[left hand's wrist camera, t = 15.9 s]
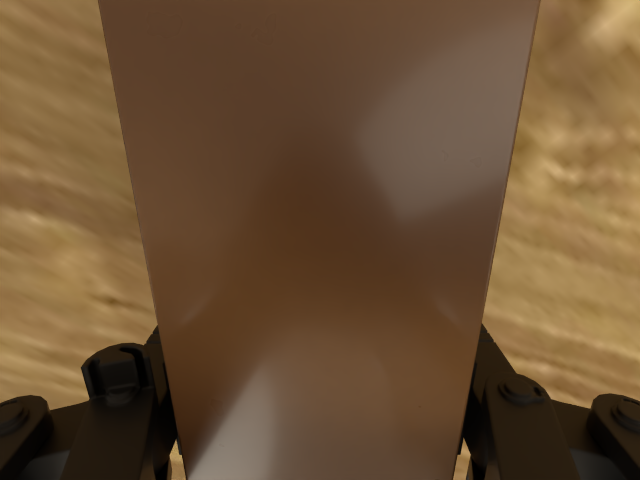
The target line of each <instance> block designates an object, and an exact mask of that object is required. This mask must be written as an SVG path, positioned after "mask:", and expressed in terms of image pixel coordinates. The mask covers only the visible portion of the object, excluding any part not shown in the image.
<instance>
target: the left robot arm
mask: <svg viewBox="0 0 640 480" xmlns="http://www.w3.org/2000/svg"><path fill="white" fill-rule="evenodd" d="M81 370H82V373H83V377H84V381H85V384H86V388H87V391H88V395H89V398H90V399H89V401H86V402H83V403H80V404H76V405H71V406H67V407H63V408H58V409H54V410H50V409H49V406H48V404H47V401H46V400H44V399H43V398H42V397H40V396H33V395H28V396H21V397H16V398H13V399H10V400H7V401H4V402H2V403H0V480H171V476H172V467H171V461H170V456H169V455H170V453H171V450H172V448H173V445H174V443H175V440H176V439H177V445H178V450H179V455H182V453H181V448H180V442H179V437H178V431H177V426H176V421H175V415H174V410H173V404H172V399H171V393H170V388H169V383H168V377H167V372H166V366H165V361H164V356H163V350H162V345H161V339H160V334H159V328H158V325H157V327H156V328H155V330H154V331H153V334H151V335H150V337H149V338H148V340H147V343H146V344H144V346H143V345H140V344H136V343H121V344H117V345H113V346H109V347H107V348H105V349H103V350H100V351H98V352H96V353H95V354H94V355H92V356H91V357H90V358H88V359H87V360H86V361H85V363H84V364H83V365H82V367H81ZM463 438H464V439H465V442H466V444H467V446H468V449H469V451H470V454H471V456H470V461H469V466H468V471H467V476H466V480H640V401H638V400H635V399H632V398H629V397H626V396H623V395H617V394H610V393H609V394H602V395H599V396H597V397H596V398H595V399H594V400H593V403H592V406H591V408H590V409H589V408H584V407H580V406H576V405H571V404H567V403H562V402H559V401H556V400H552V399H551V398H550V397H549V395H548V394H547V392H546V390H545V389H544V388H543V387H541V386H540V385H539V384H538V383H537V382H535V381H533V380H531V379H530V378H528V377H526V376H524V375H520V374H516V372H515V371H514V369H513V368H512V366H511V365H510V363H509V362H508V360H507V359H506V358H505V356H504V355H503V353H502V352H501V350H500V349H499V347H498V346H497V344H496V343H495V342H494V341H493V339H492V337H491V336H490V334H489V333H487V330H486V328H485V327H484V325H483V324H482V323H481V329H480V334H479V340H478V345H477V351H476V356H475V362H474V367H473V372H472V378H471V383H470V389H469V394H468V400H467V405H466V411H465V416H464V422H463V427H462V433H461V438H460V443H459V449H458V454H457V455H460V454H461V449H462V443H463Z"/></svg>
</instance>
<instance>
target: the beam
mask: <svg viewBox="0 0 640 480" xmlns="http://www.w3.org/2000/svg"><path fill="white" fill-rule="evenodd" d="M540 1H541V0H98V3H99V9H100V14H101V19H102V25H103V30H104V36H105V41H106V47H107V52H108V57H109V63H110V68H111V74H112V79H113V84H114V90H115V95H116V101H117V106H118V112H119V117H120V122H121V128H122V133H123V139H124V144H125V150H126V155H127V160H128V166H129V171H130V177H131V182H132V187H133V193H134V198H135V204H136V209H137V215H138V220H139V225H140V231H141V236H142V242H143V247H144V253H145V258H146V263H147V269H148V274H149V280H150V285H151V290H152V296H153V301H154V307H155V312H156V318H157V323H158V328H159V334H160V339H161V345H162V350H163V356H164V361H165V366H166V372H167V377H168V383H169V388H170V393H171V399H172V404H173V410H174V415H175V421H176V426H177V431H178V437H179V442H180V448H181V453H182V459H183V464H184V469H185V475H186V480H453V476H454V471H455V465H456V460H457V454H458V449H459V443H460V438H461V433H462V427H463V422H464V416H465V411H466V405H467V400H468V394H469V389H470V383H471V378H472V372H473V367H474V362H475V356H476V351H477V345H478V340H479V334H480V329H481V323H482V318H483V312H484V307H485V301H486V296H487V291H488V285H489V280H490V274H491V269H492V263H493V258H494V252H495V247H496V241H497V236H498V230H499V225H500V219H501V214H502V209H503V203H504V198H505V192H506V187H507V181H508V176H509V170H510V165H511V159H512V154H513V148H514V143H515V138H516V132H517V127H518V121H519V116H520V110H521V105H522V99H523V94H524V88H525V83H526V77H527V72H528V67H529V61H530V56H531V50H532V45H533V39H534V34H535V28H536V23H537V17H538V12H539V6H540Z"/></svg>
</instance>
